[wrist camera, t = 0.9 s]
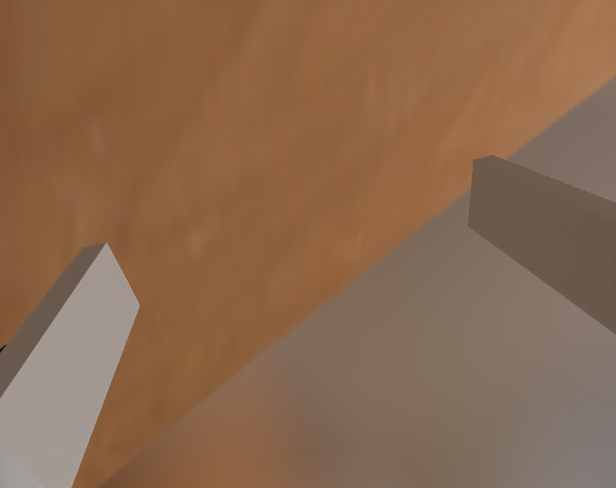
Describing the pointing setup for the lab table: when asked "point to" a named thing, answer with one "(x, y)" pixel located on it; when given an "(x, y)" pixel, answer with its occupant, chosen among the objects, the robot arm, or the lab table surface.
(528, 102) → the lab table surface
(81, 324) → the robot arm
